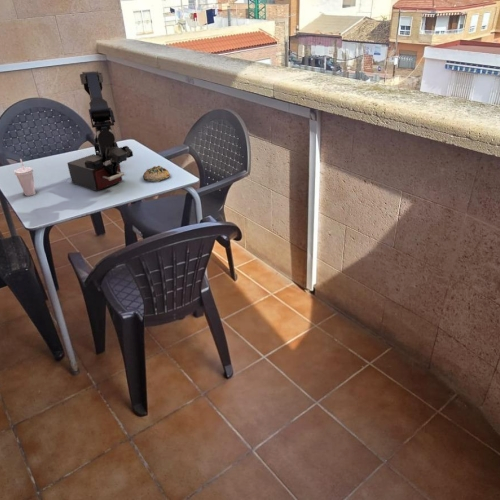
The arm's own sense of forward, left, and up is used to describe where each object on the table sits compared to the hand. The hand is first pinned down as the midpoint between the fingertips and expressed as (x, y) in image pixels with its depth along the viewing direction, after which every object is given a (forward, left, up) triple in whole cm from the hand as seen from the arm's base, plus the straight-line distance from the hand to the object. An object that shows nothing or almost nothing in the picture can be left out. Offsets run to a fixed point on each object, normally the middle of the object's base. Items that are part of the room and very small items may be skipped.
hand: (113, 179), depth 168 cm
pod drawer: (0, -7, -3) cm, 7 cm away
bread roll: (-17, +6, -4) cm, 18 cm away
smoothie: (+22, -23, -4) cm, 32 cm away
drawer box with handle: (0, -11, -3) cm, 12 cm away
